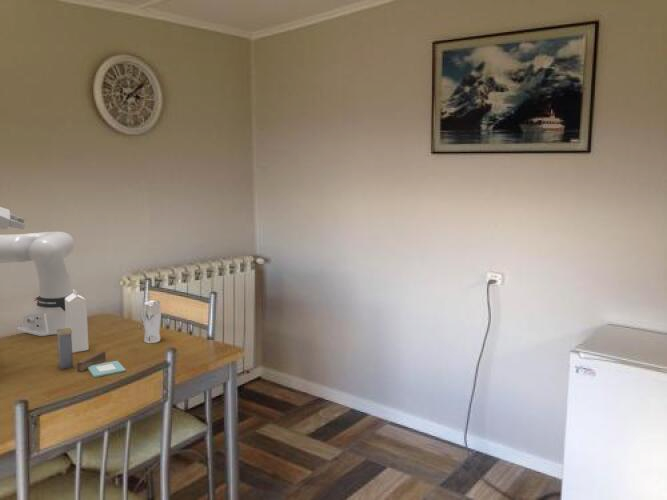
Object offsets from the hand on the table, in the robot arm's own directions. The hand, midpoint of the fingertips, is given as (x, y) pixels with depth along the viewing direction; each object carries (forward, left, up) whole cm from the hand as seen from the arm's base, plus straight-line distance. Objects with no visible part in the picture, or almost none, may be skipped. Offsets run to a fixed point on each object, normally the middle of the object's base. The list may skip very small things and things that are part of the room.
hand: (24, 224), depth 189 cm
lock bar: (+12, +1, -48) cm, 49 cm away
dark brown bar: (+19, +5, -48) cm, 52 cm away
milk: (+4, +17, -48) cm, 51 cm away
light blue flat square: (+26, +3, -48) cm, 55 cm away
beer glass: (+24, +34, -48) cm, 63 cm away
